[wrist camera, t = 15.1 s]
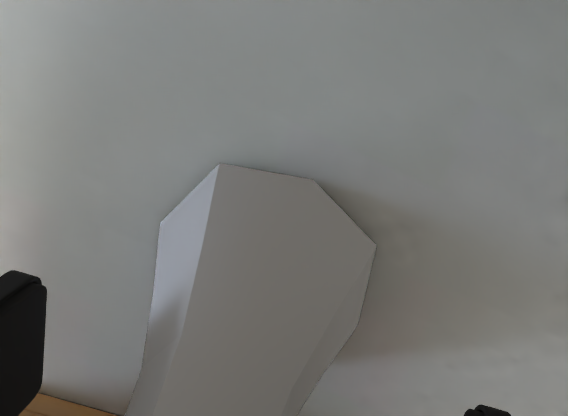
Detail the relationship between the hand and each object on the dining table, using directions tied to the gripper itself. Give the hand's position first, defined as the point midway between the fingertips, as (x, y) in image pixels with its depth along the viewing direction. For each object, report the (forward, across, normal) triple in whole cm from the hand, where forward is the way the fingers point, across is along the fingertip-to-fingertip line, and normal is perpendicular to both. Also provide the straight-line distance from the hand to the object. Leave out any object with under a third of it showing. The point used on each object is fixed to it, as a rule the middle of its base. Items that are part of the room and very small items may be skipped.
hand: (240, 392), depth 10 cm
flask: (+6, +1, 0) cm, 6 cm away
